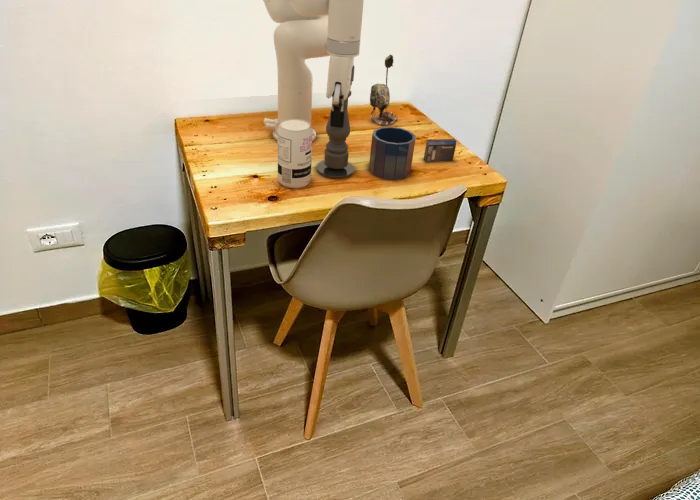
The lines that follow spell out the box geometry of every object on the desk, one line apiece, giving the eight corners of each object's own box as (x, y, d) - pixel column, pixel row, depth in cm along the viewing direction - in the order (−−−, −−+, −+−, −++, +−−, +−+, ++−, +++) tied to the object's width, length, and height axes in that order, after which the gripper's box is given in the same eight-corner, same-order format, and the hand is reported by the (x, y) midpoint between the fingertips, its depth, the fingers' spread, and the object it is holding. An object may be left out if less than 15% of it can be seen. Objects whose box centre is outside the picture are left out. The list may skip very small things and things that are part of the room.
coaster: (313, 176, 134) (313, 173, 134) (320, 159, 142) (320, 156, 142) (351, 181, 134) (352, 178, 133) (356, 164, 142) (356, 161, 141)
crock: (366, 177, 136) (370, 141, 130) (371, 158, 145) (374, 124, 139) (409, 182, 135) (414, 146, 130) (410, 163, 144) (416, 129, 139)
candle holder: (339, 171, 133) (346, 71, 119) (319, 163, 136) (324, 65, 121) (352, 162, 138) (360, 66, 123) (332, 156, 140) (338, 60, 126)
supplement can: (280, 172, 134) (279, 116, 126) (312, 175, 135) (314, 119, 126) (275, 188, 128) (274, 129, 119) (309, 190, 128) (311, 133, 119)
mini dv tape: (425, 162, 146) (428, 142, 143) (423, 159, 147) (426, 139, 144) (452, 161, 148) (456, 141, 144) (450, 158, 149) (454, 138, 146)
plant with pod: (360, 119, 168) (365, 54, 157) (388, 114, 174) (396, 51, 162) (374, 128, 163) (381, 62, 151) (403, 123, 168) (412, 59, 157)
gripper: (333, 35, 127) (329, 108, 138) (320, 54, 113) (317, 133, 124) (363, 39, 126) (357, 112, 137) (354, 58, 113) (348, 137, 123)
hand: (338, 121), depth 130 cm, fingers closed on candle holder, 4 cm apart
